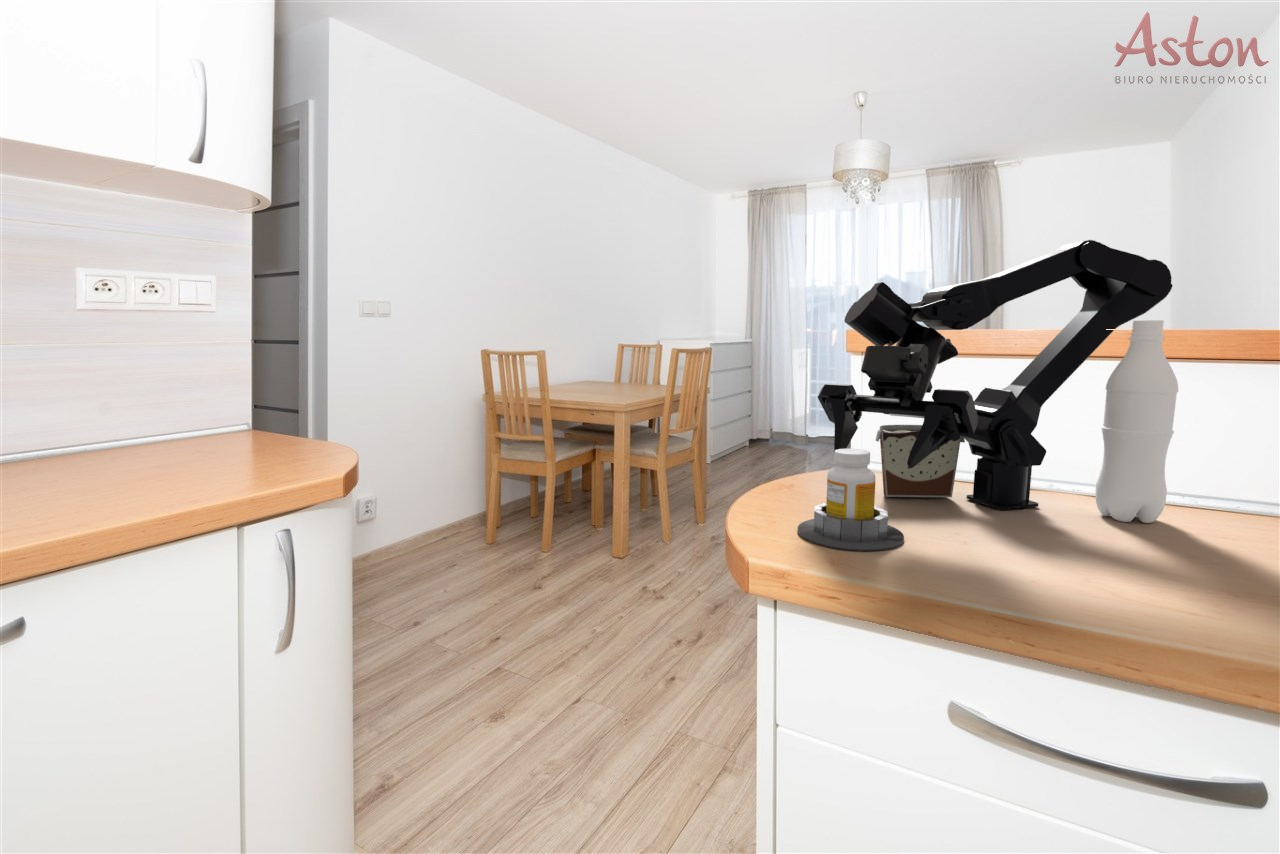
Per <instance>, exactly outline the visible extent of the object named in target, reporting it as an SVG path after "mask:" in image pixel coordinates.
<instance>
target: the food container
mask: <svg viewBox="0 0 1280 854" xmlns="http://www.w3.org/2000/svg"><path fill="white" fill-rule="evenodd" d="M922 425H923V424H884V425H880V426H879V430H878V429H877V433H876V436H875V442H879V443H880V455H881V458H880V459H881V471H882V472H881V473H882V475H881V476H882V486H883V496H884V497H889V498H890V497H891V498H893V497H894V498H896V497H897V498H952V497H953V494H954V485H955V478H956V473H957V466H958V461H959V460H958V459H959V453H960V446H961V443H966V440H965V438H964V437H963V436H961V437H960V439H959V440H951V441H949V442H947V443H946V444H944V445H943V446H941V447H940V448H938V449H936V450H935V451H934V452H932V453H931V454H930V455H928V456H927V457H926V458H925V459H923V460H922V461H921V462H920V463H918V464H917V465H916V466H914V467H913V468H909V467H908V464H907V461H908V458H909V454H910V451H911V449H912V447H913V445H914V442H915V440H916V438H917V436H918V434H919V431H920V429H921V427H922Z"/></svg>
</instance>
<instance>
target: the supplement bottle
mask: <svg viewBox="0 0 1280 854" xmlns="http://www.w3.org/2000/svg"><path fill="white" fill-rule="evenodd" d="M833 455H834V456H833V462H834V463H835V466H834V467H831V468H830V469H829V470H828V472H827V476H826V480H827V481H826V502H825V503H826V514H828V515H831V516H836V517H841V518H849V519H868V518H874V506H875V502H876V501H875V498H876V475H875V472H874V471H873V470H871V469H870V468H868V466H869V465H870V463H871V452H870V451H869V450H866V449H860V448H846V449H837V450H835V451H834V450H833Z"/></svg>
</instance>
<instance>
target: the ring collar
mask: <svg viewBox="0 0 1280 854" xmlns="http://www.w3.org/2000/svg"><path fill="white" fill-rule="evenodd" d="M813 511H814V513H813V514H814V515H813V518H811V519H807V520H804V521H802V522H800V523H799V524H798V526H797V533H798V535H799V536H800V538H802V539H803V540H805V541H807V542H809V543H812V544H815V545H816V546H821V547H824V548H829V549H834V550H842V551H849V552H883V551H888V550H893V549H896V548H898V547H900V546H902V544H904V541H905V535H904V533H903V532H902V531H900V529H898V528H896V527H894V526H892V525H890V524H889V515H888V510H885V509H883V508H881V507H879V506H877V505H874V518H868V519H849V518H841V517H836V516H831V515H828V514H826V502H823V503H820V504H816V505H815V506H814V510H813Z"/></svg>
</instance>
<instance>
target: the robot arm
mask: <svg viewBox="0 0 1280 854" xmlns="http://www.w3.org/2000/svg"><path fill="white" fill-rule="evenodd" d="M1069 278H1071V279H1072V280H1073V281H1074V282H1075V283H1076V284H1077V285H1078V286H1079V287H1080V288H1081V289H1082V288H1083V289H1084V290H1086V291H1085V293H1084V297H1083V302H1082V307H1081V309H1080V310H1079V312H1078V313H1077V314H1076V315H1075V316H1074V317H1073V318H1072V319H1071V320H1070V321H1069V322H1068V323H1067V324H1066V325H1065V327H1063V328H1062V330H1061V331H1059V333H1057V334H1056V336H1055V337H1054V338H1053V339H1052V340H1051V341H1049V342H1048V344H1047V345H1046V346H1045V347H1044V348H1043V349H1042V350H1041V351H1040V353H1038V354H1037V356H1036V357H1035V358H1034V359H1033V360H1032V361H1031V362H1030V363H1028V365H1027V366H1026V367H1025V368H1024V369H1023V370H1022V371H1021V372H1020V374H1018V375H1017V376H1016V378H1015V379H1014V380H1013V381H1012V382H1011V383H1010V384H1008V385H1007V386H1006V387H1004V388H1002V389H1000V388H993V387H984V388H983V389H982V390H981V391H980V392H979V394H978V396H977V397H976V398H975V399H974V398H973V395H972V394H971V392H970V391H969V390H962V389H961V390H960V389H942V388H938V389H934V390H933V393H932V389H933V383H932V381H931V380H932V379H933V375H934V373H935V371H936V369H937V367H938V365H940V364H942V363H944V362H946V361H949V360H951V359H953V358H955V357H956V356H958V355H959V351H958V349H957V347H956V346H955V345H954V344H953V343H952V341H951V339H950V338H946V337H945V336H944V335H942V334H941V333H940V332H939V331H961V330H967V329H969V328H971V327H973V326H974V325H976V324H979V322H982V321H983V320H985V319H986V318H988V317H990V316H991V315H992V314H993V313H994V312H996V311H997V309H998V308H1000V307H1001V306H1003V305H1005V304H1006V303H1009V302H1011V301H1013V300H1016V299H1018V298H1021V297H1023V296H1026V295H1028V294H1032V293H1034V292H1037V291H1039V290H1041V289H1044V288H1046V287H1049V286H1051V285H1054V284H1056V283H1059V282H1062V281H1065V280H1066V279H1069ZM1173 286H1174V285H1173V283H1172V273H1171V270H1170V269H1169V267H1168V265H1167V264H1165V263H1164V262H1163V261H1161V260H1157V259H1147V258H1145V257H1144V256H1141V255H1139V254H1135V253H1131V252H1127V251H1123V250H1120V249H1117V248H1116V249H1115V248H1113V247H1110V246H1108V245H1106V244H1103V243H1101V242H1099V241H1096V240H1094V239H1093V240H1092V239H1088V240H1081V241H1078V242H1072V243H1066V244H1064V245H1062V246H1061V247H1060V248H1058V249H1056V250H1053V251H1051V252H1048V253H1047V254H1043V255H1041V256H1038V257H1035V258H1033V259H1030V260H1028V261H1026V262H1023V263H1021V264H1018V265H1016V266H1012V267H1009V268H1008V269H1005V270H1002V271H1000V272H998V273H995V274H992V275H990V276H987V277H985V278H982V279H977V280H973V281H967V282H966V281H965V282H961V283H955V284H951V285H946V286H941V287H940V286H939V287H935V288H933V289H931V290H928V291H927V292H926V293H924V295H923V296H922V299H921V300H919V301H916V302H909V303H908V302H907V301H905V300H904V299H903V298H901V297H900V296H899V295H898V294H896V293H895V292H894V291H893V289H892V288H891V287H890V286H889V285H888V284H886V282H883V281H882V282H881V281H880V282H876V283H874V284H873V286H872V287H871V288H870V289H869V290H868V291H866V292H865V293H864V294H863V295H862V296H861V297H860V298H859V299H858V300H857V301H854V302H853V303H852V304H851V306H850V307H849V309H848V310H847V312H846V314H845V316H844V323H845V324H846V325H848V326H849V327H850V328H852V329H853V330H855V332H857V333H859V335H861V336H862V337H863V338H864V339H866V340H867V341H869V342H870V343H871V344H872V345H867V346H866V348H865V352H864V354H863V355H864V356H863V361H862V364H861V368H860V372H861V373H863V374H865V375H866V377H868V378H869V380H868V383H867V385H868V388H869V390H870V391H873V392H874V394H873V395H869V394H867V395H864V394H857V392H856V389H855V387H854V385H853V384H839V383H825V384H824V385H823V386H822V387H821V389H820V390H819V393H818V395H817V400H818V401H819V404H820V405H821V408H822V409H823V411H824V413H825V414H826V416H827V418H828V420H829V421H830V422H831V423H833V424H834V442H833V443H834V444H833V445H834V446H833V452H834V451H835V450H837V449H848V447H849V445H850V443H851V441H852V440H853V437H854V435H855V433H856V432H857V430H858V429H859V426H858V425H857V423H858V422H860V420H861V418H862V415H863V412H864V413H865V412H866V413H875V414H876V413H877V414H884V415H890V416H892V417H904V418H915V419H923V422H922V424H921V425H922V427H921V429H920V431H919V434H918V436H917V438H916V440H915V442H914V445H913V447H912V449H911V451H910V454H909V458H908V461H907V464H908V467H909V468H913V467H914V466H916V465H917V464H918V463H920V462H921V461H922V460H923V459H925V458H926V457H927V456H928V455H930V454H931V453H932V452H934V451H935V450H936V449H938V448H940V447H941V446H943V445H944V444H946V443H947V442H949V441H951V440H959V439H960V437H961V436H963V437H964V439H965V442H968V446H969V449H970V453H971V454H972V455H975V456H979V457H981V458H977V459H976V461H977V462H976V469H975V470H974V476H973V489H972V494H967V495H966V500H970V501H972V502H976V503H978V504H981V505H983V506H984V505H985V506H988V507H991V508H994V509H997V510H1001V511H1003V510H1014V509H1024V508H1038V507H1039V502H1036V501H1034V500H1030V494H1031V483H1032V468H1033V467H1034V466H1036V467H1037V466H1039V467H1040V466H1041V465H1042V463H1043V461H1044V458H1045V456H1046V455H1047V450H1046V449H1045V447H1044V446H1043V445H1042V444H1041V443H1040V442H1039V441H1038V440H1037V439H1036V438H1035V437H1034V436H1033V431H1034V430H1035V429H1036V428H1037V426H1038V421H1039V418H1040V413H1041V409H1042V407H1043V405H1044V404H1045V403H1046V402H1047V401H1048V400H1049V399H1050V397H1052V395H1053V394H1055V393H1056V392H1057V391H1058V389H1060V387H1061V386H1062V385H1063V384H1064V383H1065V382H1067V380H1068V379H1069V378H1070V377H1071V376H1072V375H1073V374H1074V373H1075V372H1076V371H1077V370H1078V369H1079V368H1080V367H1081V366H1082V365H1083V363H1084V362H1085V361H1087V360H1088V358H1089V357H1090V356H1091V355H1092V354H1093V353H1094V352H1095V351H1096V350H1097V349H1098V348H1099V347H1100V346H1101V345H1102V343H1104V342H1105V341H1106V340H1107V338H1109V336H1110V335H1112V333H1114V331H1115V330H1116V329H1117V328H1119V327H1121V326H1122V325H1125V324H1127V323H1128V322H1130V321H1133V320H1134V319H1136V318H1138V317H1140V316H1142V315H1145V314H1147V312H1149V311H1150V310H1151V309H1154V307H1155V306H1157V305H1158V304H1159V303H1161V302H1162V301H1163V300H1165V299H1166V298H1167V297H1168V295H1169V294H1170V292H1171V290H1172V288H1173ZM918 322H919V323H918ZM920 322H922V323H923V324H924V325H922V324H920ZM1106 329H1115V330H1106ZM926 393H929V394H930V393H932V396H931V398H932V400H924V398H925V395H926Z"/></svg>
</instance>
